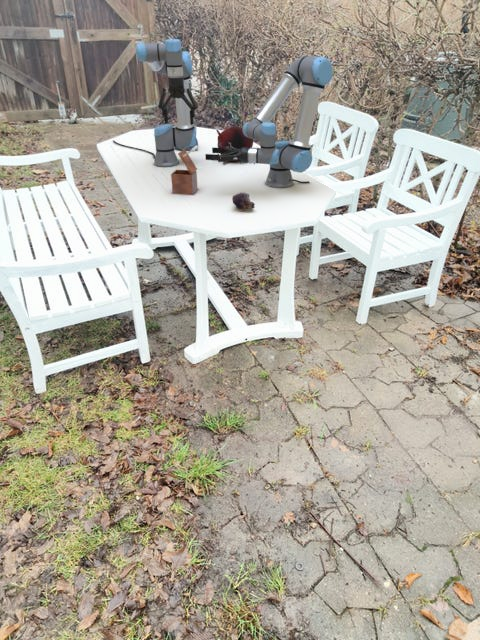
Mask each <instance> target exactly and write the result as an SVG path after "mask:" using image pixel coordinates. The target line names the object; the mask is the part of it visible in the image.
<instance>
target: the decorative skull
mask: <svg viewBox="0 0 480 640" xmlns="http://www.w3.org/2000/svg"><path fill="white" fill-rule="evenodd" d="M216 133H217V135H218V136H217V148H224V149H225V148H227V147H231V148H236V149H242V147H246V148H249V149H250V148H253V146H254V139H250V138H248V137H246V136H245V135H244V134H243V127H241V126H231V127H228V128H226V129H225V130H223V131H221V132H220V130H218V129H216ZM224 154H225V153H224ZM224 154H222V153H219V155H224ZM238 161H240V162H241V159H237V161H236V162H238ZM222 163H223V165H225V163H226V161H225V162H222Z"/></svg>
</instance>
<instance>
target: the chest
mask: <svg viewBox="0 0 480 640" xmlns="http://www.w3.org/2000/svg"><path fill="white" fill-rule="evenodd" d="M197 173H198V172H197V170H196V171H195V172H194V173H193V174H190V173H189V171H188V169H175V170H174V171H173V172H171V174H170V178H171V179H170V180H171V191H172V194H174V195H175V194H177V195H191V196H194V194H195V193H196V192H197V191H198V190H199V189H198V188H199V187H198V175H197Z"/></svg>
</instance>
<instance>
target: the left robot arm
mask: <svg viewBox="0 0 480 640" xmlns="http://www.w3.org/2000/svg"><path fill="white" fill-rule="evenodd" d="M135 51H136V52H135V53H136V59H137V61H138V62H143V63H144V62H146V65H147V68H148V69H149V70H151V71H152V72H153V73H156V74H158V75H162V76H167V77H168V78H167V84H168V87H163V88H162V92H161V96H160V99H159V102H158V105H157V108H158V109H161V114H162V117H163V118H164V124H162V125H158V126H156V127H155V128H154V129H153V133H154V134H153V136H154V142H155V143H154V145H155V153H154V152H151V151H149V150H146V149H142V148H139V147H133V146H128V145H125V144H122V143H118V142H117V141H115V140H112V142H113V143H115V144H116V145H119V146H122V147H125V148H129V149H134V150H137V151H138V150H139V151H142V152H147V153H148V154H151V155H153V159H154V165H155V166H157V167H163V168H164V167H165V168H167V167H168V168H169V167H174V166H177V165H178V164H179V159H178V157H177V153H176V151H175V147H189V146H194V145H195V144H196V138H197V126H195V123H194V118H195V116H196V111H195V110H198V109H199V106H198V104H197V101H196V100H195V98H194V95H193V94H192V90H191V88H190V85H189V84H190V83H189V81H190V80H191V78H192V75H193V74H194V69H193V62H192V57H191V54H190V52H189V51H186V50H185V51H184V50H183V48H182V42H181V40H180V39H177V38H169V39H166V40H165V41H164V42H161V43H144V42H143V43H137V44H136V46H135ZM167 93H169V95H168V97H167V96H166V95H167ZM166 97H167V98H166ZM172 99H175V109H176V120H177V121H176V123H175V126H173V125H172V124H169V118H168V117H169V115H168V109H167V107H168V105H169V103H170V102H171V101H172Z"/></svg>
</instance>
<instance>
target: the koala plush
mask: <svg viewBox="0 0 480 640" xmlns="http://www.w3.org/2000/svg"><path fill="white" fill-rule="evenodd" d="M195 146H198V148H197V149H196V150H195V151H197V150H198V149H199V141H198V138H197V137H196V144H195V145H194V146H189V147H174V149H176V150H179V151H182V150H183V149H185V150H186V151H190V150H191V149H192V148H194V147H195Z"/></svg>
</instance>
